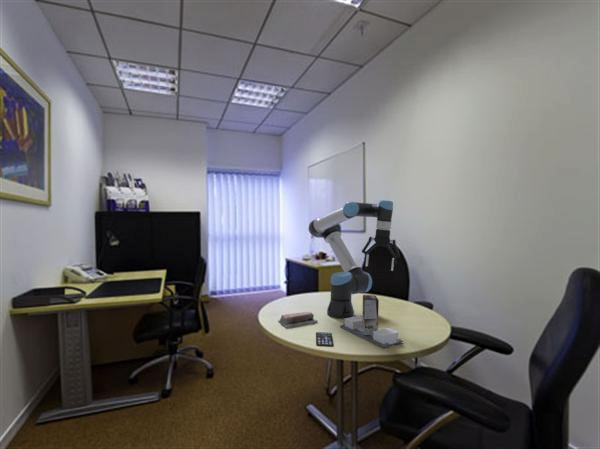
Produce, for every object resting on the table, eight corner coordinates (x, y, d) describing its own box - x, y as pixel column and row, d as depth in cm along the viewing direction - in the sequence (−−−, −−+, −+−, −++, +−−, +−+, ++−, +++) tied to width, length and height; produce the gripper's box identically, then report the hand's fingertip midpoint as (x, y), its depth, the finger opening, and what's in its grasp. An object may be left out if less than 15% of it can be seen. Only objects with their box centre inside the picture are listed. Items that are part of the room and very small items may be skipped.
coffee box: (378, 335, 131) (379, 300, 131) (363, 335, 132) (364, 299, 131) (374, 328, 140) (375, 295, 140) (361, 327, 141) (362, 294, 141)
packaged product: (287, 319, 141) (278, 313, 150) (286, 329, 141) (278, 322, 150) (318, 314, 150) (308, 309, 159) (317, 323, 150) (307, 317, 159)
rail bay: (340, 327, 144) (340, 318, 144) (358, 323, 151) (358, 314, 151) (383, 348, 121) (384, 337, 121) (403, 342, 127) (403, 332, 127)
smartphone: (331, 332, 136) (334, 345, 122) (331, 334, 136) (333, 347, 122) (315, 332, 137) (316, 345, 122) (315, 333, 137) (316, 346, 122)
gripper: (358, 226, 159) (354, 265, 160) (407, 232, 148) (402, 273, 150) (361, 226, 166) (358, 263, 167) (408, 231, 155) (404, 271, 156)
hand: (379, 268), depth 158 cm, fingers open, 13 cm apart
